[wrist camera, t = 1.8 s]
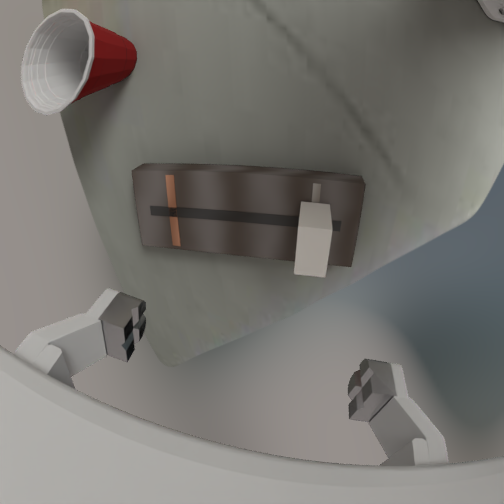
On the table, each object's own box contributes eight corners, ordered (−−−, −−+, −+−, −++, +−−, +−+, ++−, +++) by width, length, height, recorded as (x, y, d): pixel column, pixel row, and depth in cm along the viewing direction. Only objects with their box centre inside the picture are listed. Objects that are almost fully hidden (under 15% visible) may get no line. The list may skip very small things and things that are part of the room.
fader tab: (329, 204, 32) (332, 229, 27) (324, 246, 34) (325, 277, 29) (301, 201, 32) (298, 226, 27) (297, 243, 35) (293, 274, 30)
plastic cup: (126, 2, 26) (61, -13, 16) (172, 59, 29) (111, 56, 19) (72, 61, 30) (4, 68, 20) (111, 116, 34) (45, 137, 24)
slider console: (361, 176, 33) (365, 184, 30) (349, 253, 38) (351, 267, 35) (143, 163, 37) (131, 171, 34) (152, 234, 42) (142, 245, 39)
